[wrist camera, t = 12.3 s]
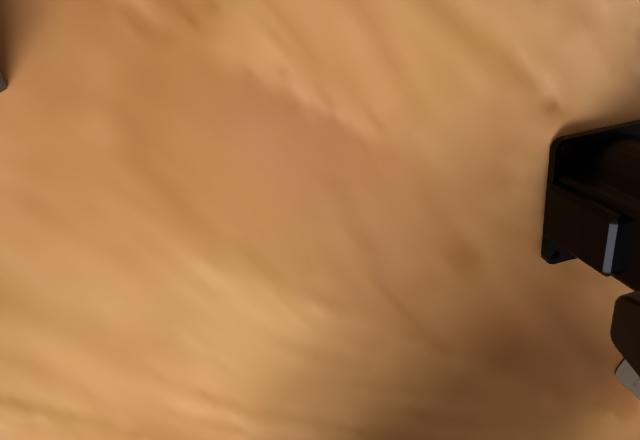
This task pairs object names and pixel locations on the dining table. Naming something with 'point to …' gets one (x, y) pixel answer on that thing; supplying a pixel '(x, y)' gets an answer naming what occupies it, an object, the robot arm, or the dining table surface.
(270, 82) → the dining table surface
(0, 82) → the podium
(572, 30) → the dining table surface
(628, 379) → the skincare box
